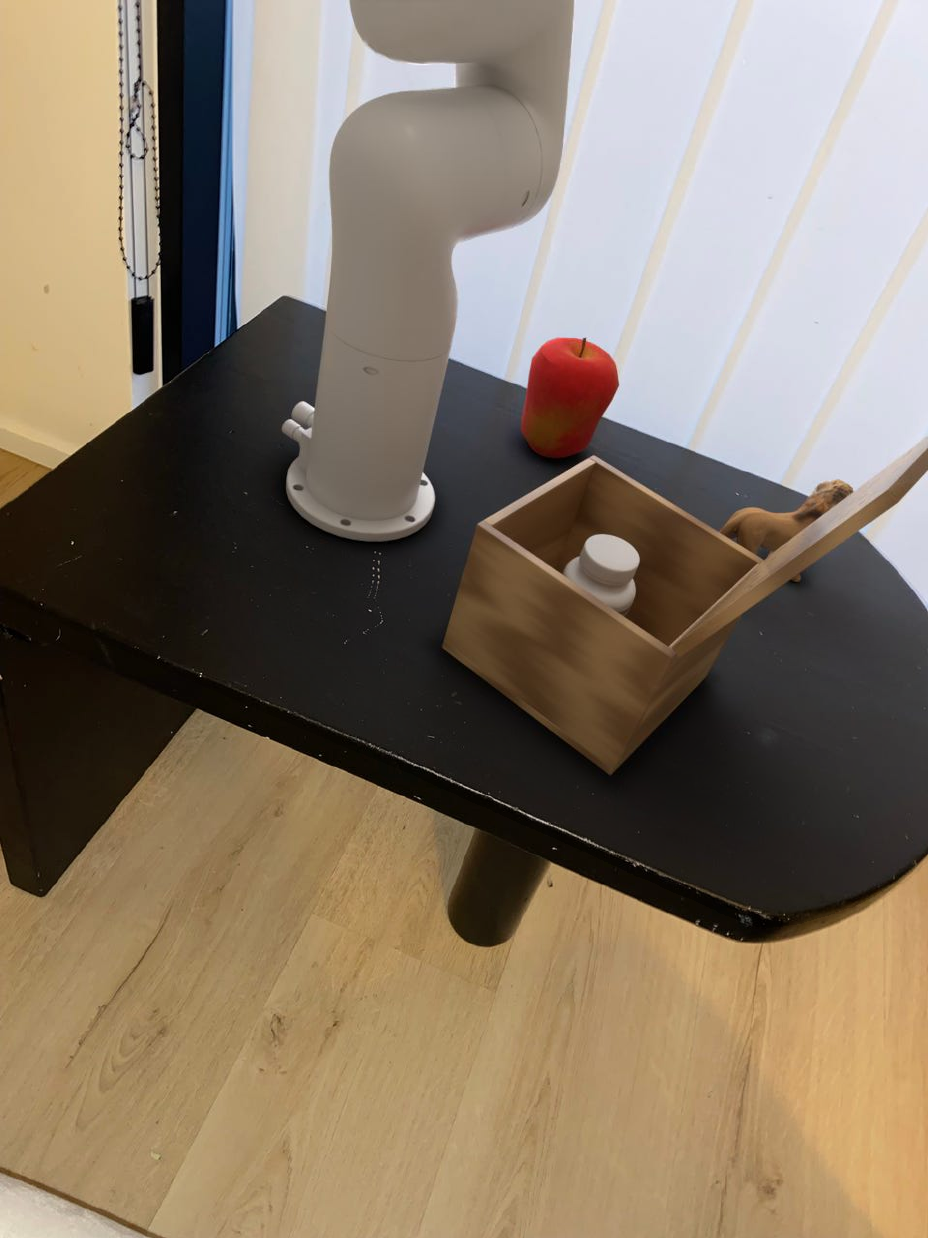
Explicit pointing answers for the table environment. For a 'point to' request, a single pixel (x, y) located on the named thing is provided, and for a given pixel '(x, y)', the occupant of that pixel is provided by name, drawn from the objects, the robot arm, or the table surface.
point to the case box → (592, 609)
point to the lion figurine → (783, 520)
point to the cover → (814, 542)
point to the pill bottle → (606, 571)
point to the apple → (567, 396)
